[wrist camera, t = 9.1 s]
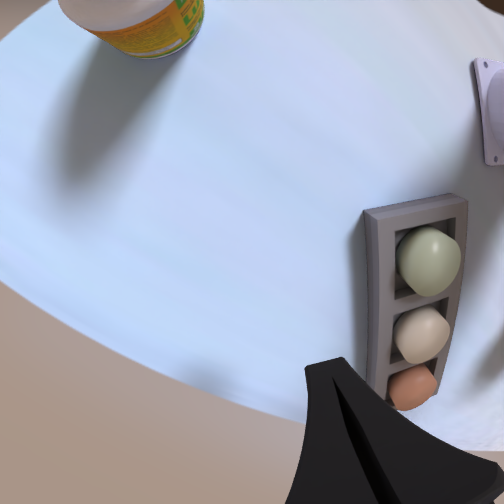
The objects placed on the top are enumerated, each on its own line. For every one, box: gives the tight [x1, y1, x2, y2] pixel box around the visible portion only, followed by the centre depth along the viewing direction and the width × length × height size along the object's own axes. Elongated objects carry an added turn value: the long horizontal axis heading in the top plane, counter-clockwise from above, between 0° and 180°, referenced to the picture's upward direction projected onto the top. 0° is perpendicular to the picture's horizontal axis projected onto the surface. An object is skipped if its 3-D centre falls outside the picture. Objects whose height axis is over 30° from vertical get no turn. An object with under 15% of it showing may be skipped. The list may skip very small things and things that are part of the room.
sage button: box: [395, 225, 461, 297], centre depth 18 cm, size 4×4×2 cm
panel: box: [364, 193, 468, 410], centre depth 21 cm, size 7×19×2 cm, turn 12°
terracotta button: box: [387, 363, 437, 411], centre depth 22 cm, size 4×4×2 cm
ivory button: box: [393, 304, 450, 364], centre depth 20 cm, size 4×4×2 cm
